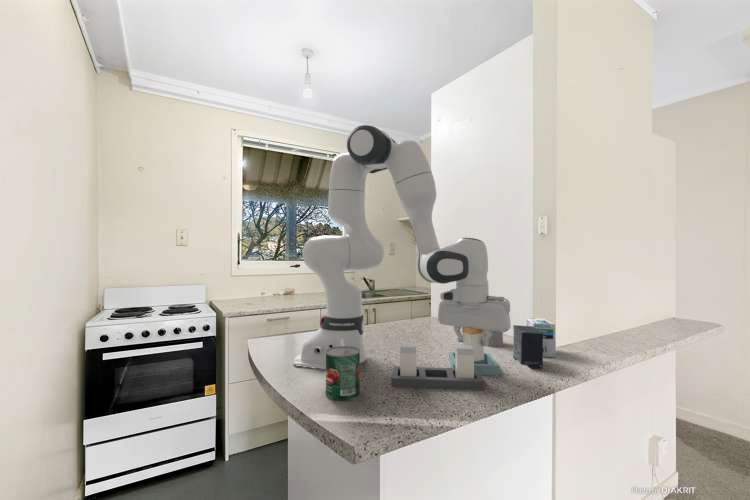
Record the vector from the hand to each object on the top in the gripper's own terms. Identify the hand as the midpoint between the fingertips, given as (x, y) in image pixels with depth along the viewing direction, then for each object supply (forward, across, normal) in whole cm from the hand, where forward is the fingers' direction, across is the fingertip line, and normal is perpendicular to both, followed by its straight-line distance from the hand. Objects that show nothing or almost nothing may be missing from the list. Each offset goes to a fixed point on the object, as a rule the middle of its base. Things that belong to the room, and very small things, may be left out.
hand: (472, 343), depth 97 cm
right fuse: (+7, -2, +12) cm, 14 cm away
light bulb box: (+8, -11, -32) cm, 35 cm away
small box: (+8, -10, -18) cm, 22 cm away
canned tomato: (+8, +17, +36) cm, 40 cm away
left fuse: (+7, +9, +19) cm, 22 cm away
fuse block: (+8, +4, +16) cm, 18 cm away
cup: (+8, +6, -33) cm, 35 cm away
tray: (+8, 0, 0) cm, 8 cm away
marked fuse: (+4, 0, 0) cm, 4 cm away
